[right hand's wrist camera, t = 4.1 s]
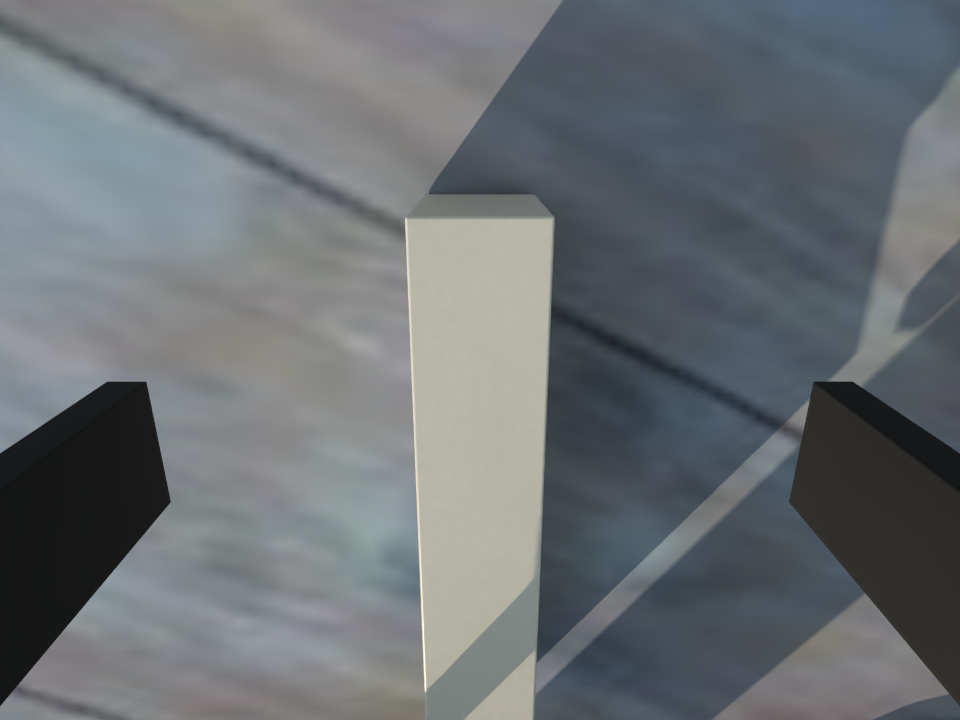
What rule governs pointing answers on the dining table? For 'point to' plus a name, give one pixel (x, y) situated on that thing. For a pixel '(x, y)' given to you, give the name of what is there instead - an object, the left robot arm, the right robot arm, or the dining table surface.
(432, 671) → the beam
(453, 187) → the dining table surface
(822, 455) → the right robot arm
